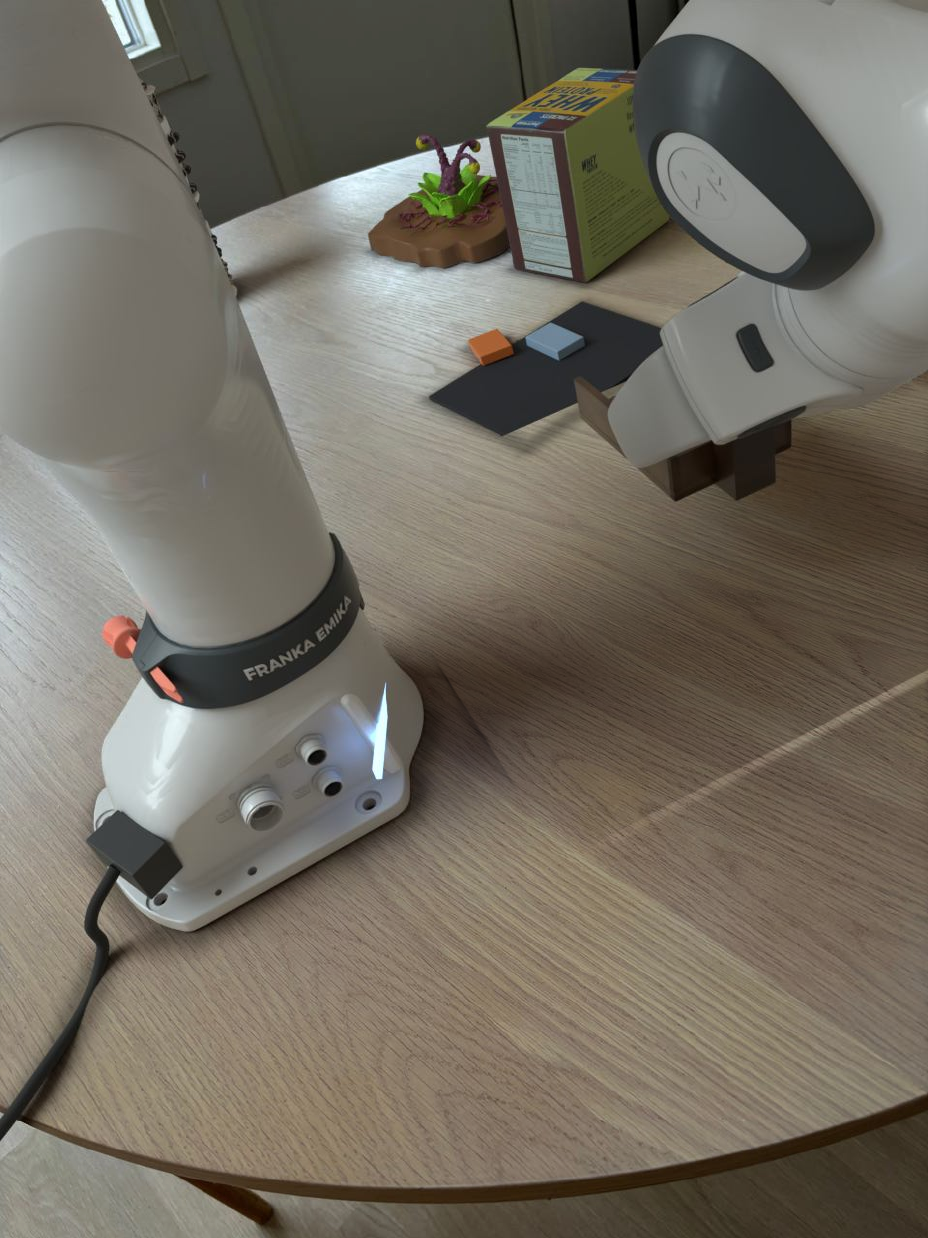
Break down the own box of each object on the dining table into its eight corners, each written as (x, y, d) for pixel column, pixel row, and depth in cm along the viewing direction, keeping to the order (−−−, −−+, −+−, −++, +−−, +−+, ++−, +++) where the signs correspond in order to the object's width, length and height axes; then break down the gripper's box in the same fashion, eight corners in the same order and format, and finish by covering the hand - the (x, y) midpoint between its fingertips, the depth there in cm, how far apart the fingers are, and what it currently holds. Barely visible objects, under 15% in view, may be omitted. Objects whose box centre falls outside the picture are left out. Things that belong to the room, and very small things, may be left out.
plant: (444, 188, 133) (423, 98, 126) (570, 195, 122) (556, 98, 115) (348, 260, 123) (319, 167, 115) (476, 275, 112) (454, 173, 105)
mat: (526, 448, 86) (525, 444, 86) (429, 399, 95) (428, 396, 95) (687, 340, 93) (687, 336, 93) (582, 304, 102) (582, 300, 102)
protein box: (671, 219, 112) (660, 68, 101) (586, 284, 105) (563, 130, 95) (596, 208, 118) (578, 65, 108) (511, 270, 111) (482, 123, 101)
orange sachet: (514, 354, 97) (511, 344, 96) (483, 366, 97) (480, 356, 96) (499, 337, 101) (497, 327, 100) (470, 348, 101) (467, 339, 100)
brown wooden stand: (815, 464, 65) (817, 308, 58) (695, 520, 64) (682, 369, 57) (684, 371, 77) (672, 231, 69) (580, 418, 75) (556, 280, 68)
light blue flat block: (585, 345, 95) (583, 336, 95) (559, 361, 95) (557, 351, 94) (552, 331, 99) (550, 321, 98) (526, 345, 98) (524, 336, 97)
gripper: (995, 172, 50) (854, 290, 64) (636, 331, 47) (569, 419, 61) (1054, 286, 50) (900, 380, 63) (697, 453, 47) (616, 514, 60)
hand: (736, 400), depth 62 cm, fingers closed on brown wooden stand, 3 cm apart
